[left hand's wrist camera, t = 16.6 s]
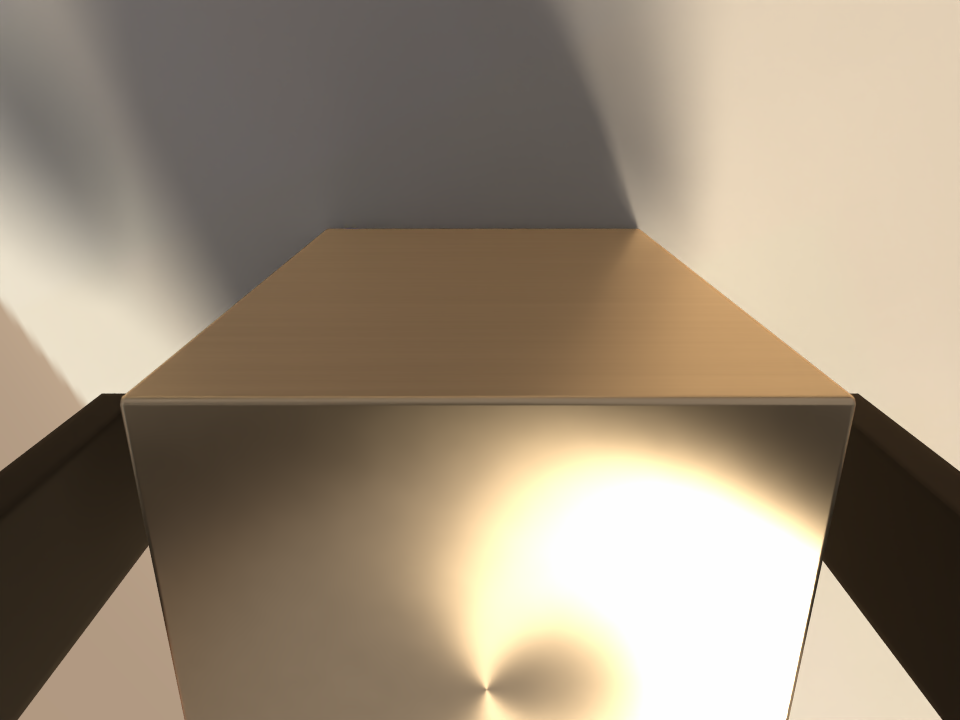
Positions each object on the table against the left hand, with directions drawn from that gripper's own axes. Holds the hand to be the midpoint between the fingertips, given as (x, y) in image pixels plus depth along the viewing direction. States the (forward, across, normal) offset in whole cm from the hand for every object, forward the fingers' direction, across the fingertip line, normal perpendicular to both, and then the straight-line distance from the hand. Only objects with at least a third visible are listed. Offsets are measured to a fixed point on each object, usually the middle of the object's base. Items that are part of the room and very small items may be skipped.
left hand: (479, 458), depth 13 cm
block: (+4, 0, 0) cm, 4 cm away
